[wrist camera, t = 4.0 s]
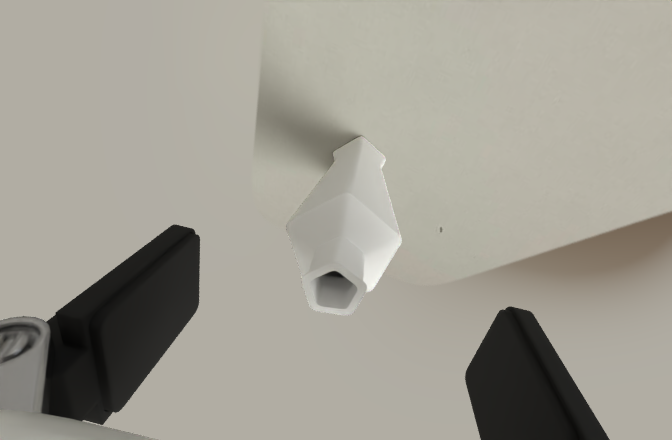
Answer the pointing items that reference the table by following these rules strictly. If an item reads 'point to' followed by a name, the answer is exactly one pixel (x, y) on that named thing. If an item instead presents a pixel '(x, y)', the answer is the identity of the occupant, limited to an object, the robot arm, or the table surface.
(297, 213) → the white faceted vase
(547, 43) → the table surface
